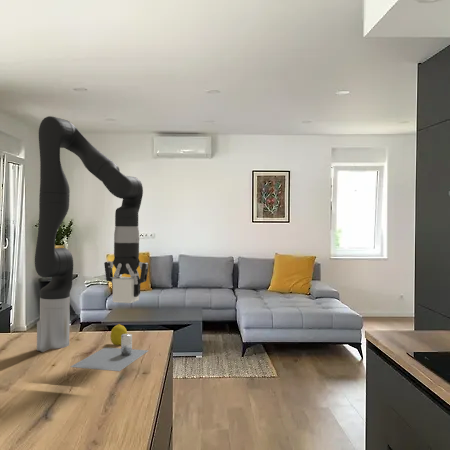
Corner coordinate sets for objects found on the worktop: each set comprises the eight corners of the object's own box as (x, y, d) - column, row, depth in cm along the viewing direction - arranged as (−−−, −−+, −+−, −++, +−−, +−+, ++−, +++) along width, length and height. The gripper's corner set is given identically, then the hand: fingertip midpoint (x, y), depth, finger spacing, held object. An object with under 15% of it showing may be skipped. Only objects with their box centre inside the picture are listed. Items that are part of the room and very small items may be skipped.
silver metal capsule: (119, 355, 153) (119, 335, 153) (123, 352, 156) (124, 333, 156) (129, 356, 152) (129, 336, 152) (133, 353, 155) (133, 334, 155)
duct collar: (112, 302, 151) (112, 279, 151) (121, 299, 157) (121, 276, 157) (131, 303, 150) (131, 279, 150) (139, 300, 156) (139, 277, 155)
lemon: (129, 345, 170) (129, 322, 170) (124, 350, 164) (124, 325, 164) (113, 345, 171) (113, 321, 170) (108, 349, 165) (108, 325, 165)
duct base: (69, 372, 141) (70, 366, 141) (105, 351, 162) (105, 347, 162) (119, 376, 137) (119, 371, 137) (148, 355, 159) (148, 350, 159)
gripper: (99, 241, 151) (98, 296, 151) (143, 242, 148) (143, 298, 148) (110, 240, 158) (110, 293, 159) (153, 241, 155) (152, 295, 155)
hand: (126, 295), depth 153 cm, fingers closed on duct collar, 6 cm apart
